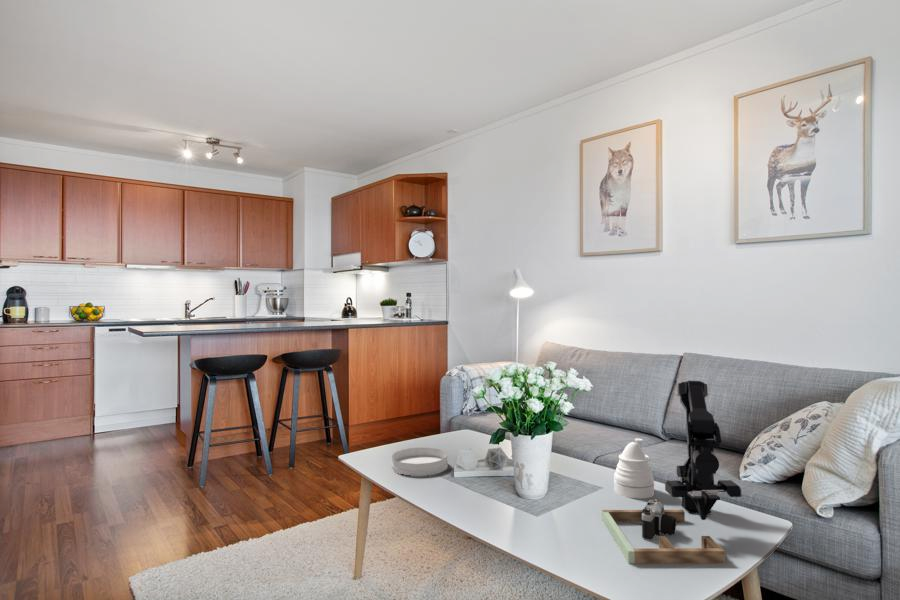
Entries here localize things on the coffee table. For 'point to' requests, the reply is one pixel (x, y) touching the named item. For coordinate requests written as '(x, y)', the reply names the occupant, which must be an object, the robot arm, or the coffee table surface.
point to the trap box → (666, 550)
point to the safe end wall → (618, 537)
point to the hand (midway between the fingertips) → (703, 519)
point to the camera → (656, 521)
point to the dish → (419, 461)
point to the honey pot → (634, 473)
